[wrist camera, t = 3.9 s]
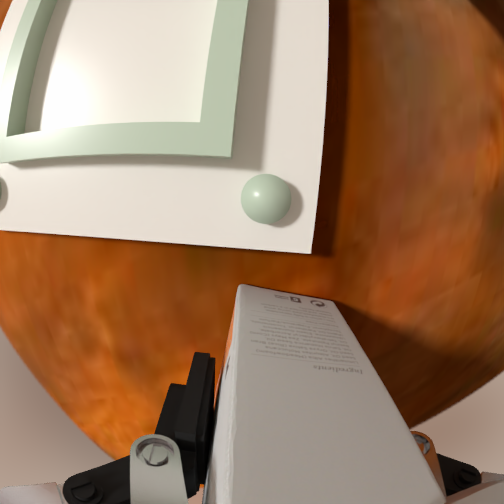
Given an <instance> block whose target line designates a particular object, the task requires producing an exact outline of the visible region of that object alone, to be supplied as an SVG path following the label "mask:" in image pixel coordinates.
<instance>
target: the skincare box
mask: <svg viewBox="0 0 504 504" xmlns="http://www.w3.org/2000/svg"><path fill="white" fill-rule="evenodd" d="M445 502H446V499H445V497H444V495H443V493H442V491H441V489H440V487H439V485H438V483H437V481H436V479H435V477H434V475H433V473H432V471H431V469H430V467H429V465H428V463H427V461H426V459H425V458H424V456H423V454H422V452H421V450H420V448H419V446H418V445H417V443H416V441H415V439H414V437H413V436H412V434H411V432H410V430H409V428H408V426H407V424H406V423H405V421H404V419H403V417H402V416H401V414H400V412H399V410H398V408H397V407H396V405H395V403H394V401H393V400H392V398H391V396H390V395H389V393H388V391H387V389H386V387H385V386H384V384H383V382H382V381H381V379H380V377H379V376H378V374H377V372H376V370H375V369H374V367H373V366H372V364H371V362H370V360H369V359H368V357H367V355H366V354H365V352H364V351H363V349H362V347H361V346H360V344H359V342H358V341H357V339H356V337H355V335H354V334H353V332H352V331H351V329H350V327H349V326H348V324H347V323H346V321H345V319H344V318H343V316H342V315H341V313H340V312H339V310H338V308H337V307H336V305H335V304H334V302H333V301H329V300H323V299H318V298H312V297H307V296H301V295H295V294H290V293H285V292H280V291H275V290H270V289H265V288H259V287H255V286H250V285H245V284H241V285H239V286H238V290H237V295H236V300H235V306H234V311H233V316H232V320H231V325H230V330H229V335H228V339H227V344H226V349H225V354H224V359H223V363H222V368H221V372H220V376H219V380H218V384H217V389H216V394H215V402H214V414H213V421H212V428H211V436H210V444H209V453H208V461H207V470H206V478H205V484H204V490H203V499H202V504H443V503H445Z"/></svg>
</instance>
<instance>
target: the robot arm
mask: <svg viewBox="0 0 504 504" xmlns="http://www.w3.org/2000/svg"><path fill="white" fill-rule="evenodd" d="M214 387H215V358H212V357H210V353H200V352H195V353H194V357H193V361H192V365H191V368H190V372H189V376H188V380H187V384H186V385H181V384H174V383H171V384H170V387H169V390H168V393H167V396H166V399H165V402H164V405H163V408H162V411H161V414H160V418H159V421H158V424H157V427H156V430H155V434H151V435H145V436H142V437H140V438H138V439H137V440H136V441H134V443H133V444H132V446H131V450H130V455H129V456H126V457H124V458H121V459H119V460H116V461H113V462H111V463H108V464H105V465H102V466H100V467H97V468H94V469H91V470H88V471H85V472H82V473H79V474H76V475H73V476H71V477H70V478H68V479H67V480H66V481H65V483H64V484H59V485H57V484H56V482H52V483H44V484H36V485H24V486H8V487H5V488H2V489H1V490H0V504H188V498H191V497H192V496H194V495H196V492H197V491H199V487H200V484H205V478H206V470H207V461H208V453H209V444H210V436H211V428H212V421H213V414H214ZM410 432H411V434H412V436H413V437H414V439H415V441H416V443H417V445H418V446H419V448H420V450H421V452H422V454H423V456H424V458H425V459H426V461H427V463H428V465H429V467H430V469H431V471H432V473H433V475H434V477H435V479H436V481H437V483H438V485H439V487H440V489H441V491H442V493H443V495H444V497H445V499H446V502H445V503H443V504H504V475H503V474H496V473H489V472H482V473H481V474H480V473H479V471H478V470H477V469H476V468H475V467H474V466H471V465H469V464H466V463H463V462H460V461H457V460H454V459H451V458H448V457H446V456H443V455H440V454H437V453H436V451H435V447H434V444H433V442H432V440H431V439H430V438H429V437H428V436H427V435H425V434H423V433H420V432H417V431H410Z"/></svg>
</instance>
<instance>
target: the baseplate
mask: <svg viewBox="0 0 504 504" xmlns="http://www.w3.org/2000/svg"><path fill="white" fill-rule="evenodd" d="M328 30H329V0H13V1H12V3H11V6H10V8H9V10H8V13H7V15H6V18H5V20H4V23H3V25H2V28H1V31H0V230H7V231H21V232H35V233H48V234H62V235H75V236H88V237H102V238H115V239H128V240H141V241H154V242H167V243H180V244H193V245H206V246H218V247H231V248H244V249H256V250H269V251H282V252H294V253H306V254H311V248H312V240H313V233H314V225H315V217H316V208H317V199H318V190H319V180H320V170H321V159H322V148H323V136H324V122H325V107H326V89H327V67H328Z"/></svg>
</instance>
